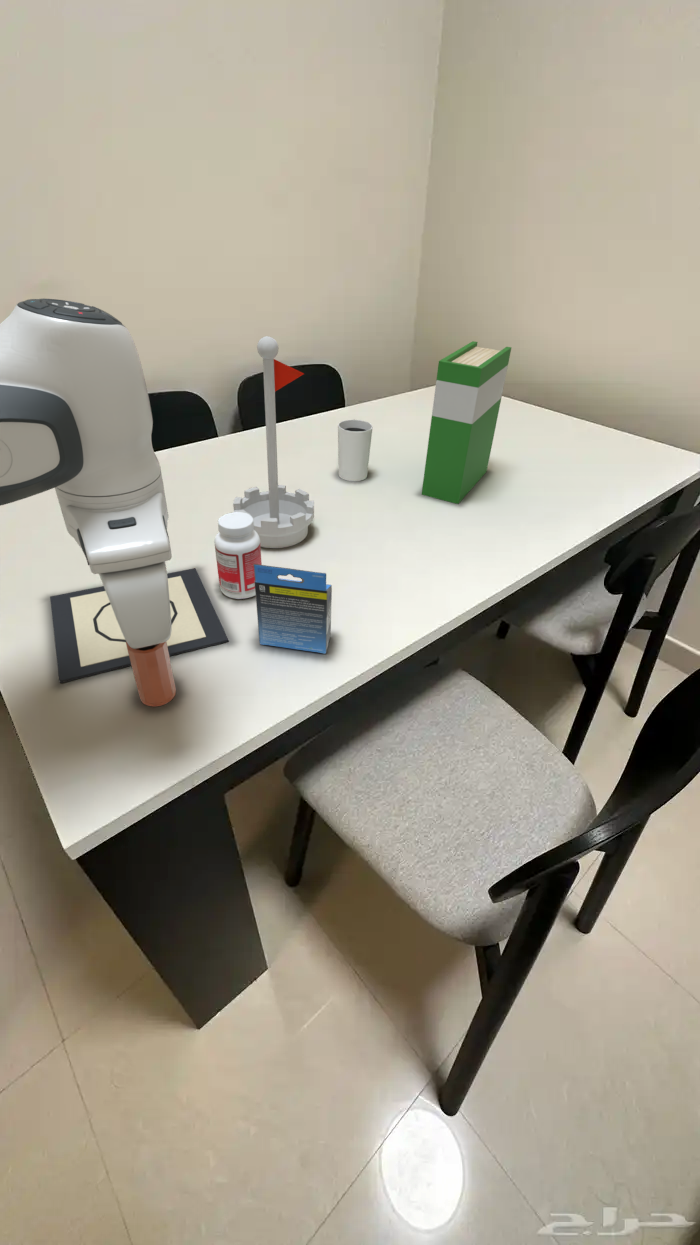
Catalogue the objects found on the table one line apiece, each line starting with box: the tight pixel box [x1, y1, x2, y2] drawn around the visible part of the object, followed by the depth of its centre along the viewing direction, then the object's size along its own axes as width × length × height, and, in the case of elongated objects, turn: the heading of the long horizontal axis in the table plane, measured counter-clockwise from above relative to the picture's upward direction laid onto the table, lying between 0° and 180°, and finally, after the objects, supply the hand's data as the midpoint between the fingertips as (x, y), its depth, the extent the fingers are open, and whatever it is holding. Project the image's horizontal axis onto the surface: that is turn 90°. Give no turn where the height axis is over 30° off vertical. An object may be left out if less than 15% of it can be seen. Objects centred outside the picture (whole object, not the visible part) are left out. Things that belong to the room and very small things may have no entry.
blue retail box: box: [253, 564, 333, 654], centre depth 71 cm, size 9×4×12 cm, turn 81°
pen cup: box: [126, 642, 177, 708], centre depth 64 cm, size 4×4×8 cm
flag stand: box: [232, 335, 315, 549], centre depth 88 cm, size 13×13×30 cm
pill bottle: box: [213, 511, 263, 600], centre depth 81 cm, size 6×6×11 cm
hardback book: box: [421, 340, 512, 505], centre depth 108 cm, size 18×7×24 cm, turn 152°
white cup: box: [337, 419, 374, 482], centre depth 113 cm, size 7×7×10 cm
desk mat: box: [49, 567, 229, 684], centre depth 77 cm, size 20×18×1 cm
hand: (142, 625), depth 60 cm, fingers closed
